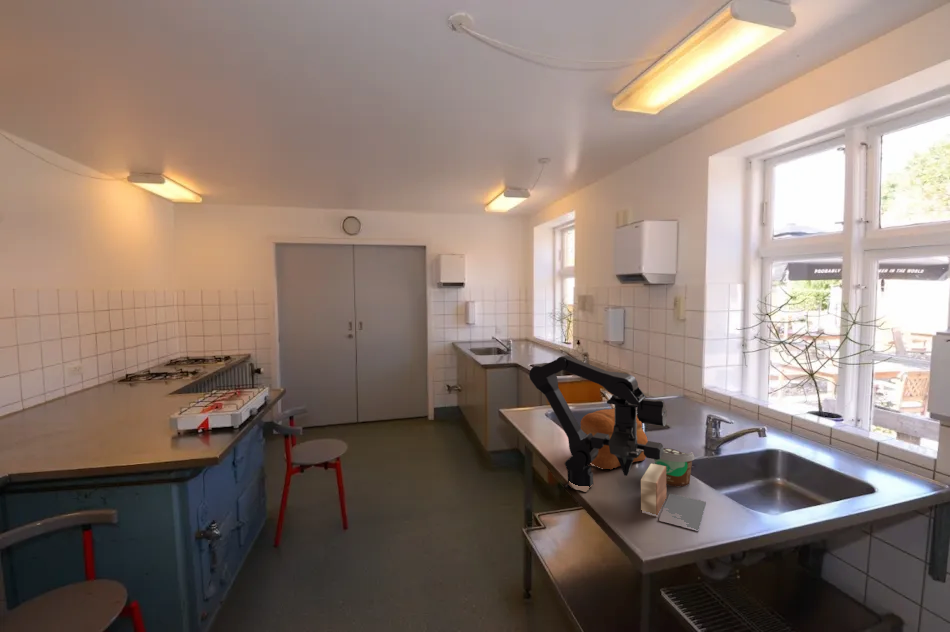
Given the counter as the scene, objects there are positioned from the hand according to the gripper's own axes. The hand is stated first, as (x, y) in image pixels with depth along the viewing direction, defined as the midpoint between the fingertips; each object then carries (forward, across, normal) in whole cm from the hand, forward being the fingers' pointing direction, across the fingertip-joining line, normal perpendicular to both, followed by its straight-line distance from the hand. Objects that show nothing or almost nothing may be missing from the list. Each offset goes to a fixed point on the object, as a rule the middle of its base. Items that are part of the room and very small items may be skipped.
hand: (626, 475), depth 117 cm
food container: (+7, +8, +16) cm, 19 cm away
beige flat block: (+7, +7, 0) cm, 10 cm away
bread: (+7, -12, +25) cm, 28 cm away
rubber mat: (+7, +14, 0) cm, 16 cm away
